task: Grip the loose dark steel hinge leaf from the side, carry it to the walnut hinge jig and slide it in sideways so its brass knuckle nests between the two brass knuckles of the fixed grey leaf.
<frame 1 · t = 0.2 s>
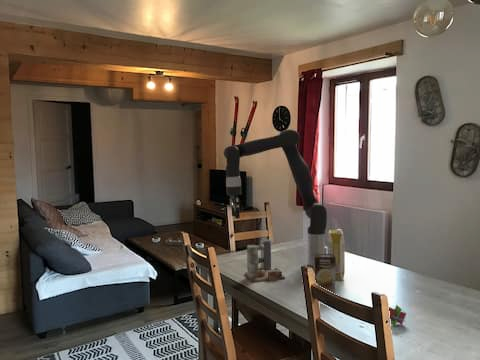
hand: (235, 217, 205), 29 cm above the table, tool pointing down, fingers open, 8 cm apart
hinge jig: (264, 276, 199), on the table
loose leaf: (266, 268, 213), on the table
geometric puzzle: (395, 325, 143), on the table
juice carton: (335, 278, 194), on the table
coffee box: (324, 291, 177), on the table
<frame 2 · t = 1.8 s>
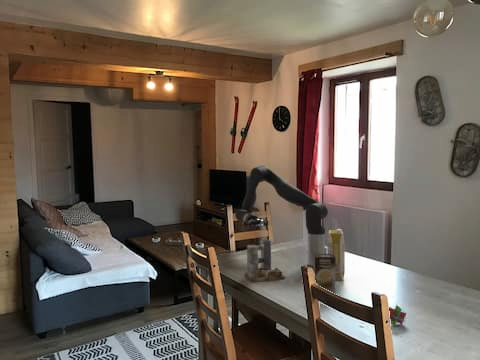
hand: (259, 225, 222), 21 cm above the table, tool horizontal, fingers open, 8 cm apart
nothing on the table moved.
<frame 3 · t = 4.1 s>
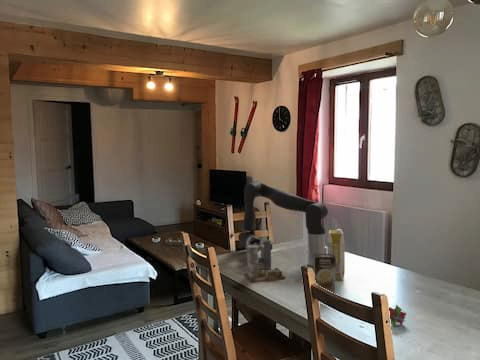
hand: (262, 249, 217), 8 cm above the table, tool horizontal, fingers open, 8 cm apart
nothing on the table moved.
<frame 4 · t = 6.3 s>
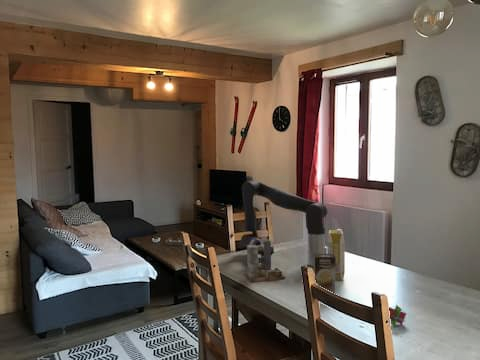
hand: (267, 253, 209), 9 cm above the table, tool horizontal, fingers closed on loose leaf, 4 cm apart
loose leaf: (266, 268, 213), on the table, touching gripper
everything else where it was.
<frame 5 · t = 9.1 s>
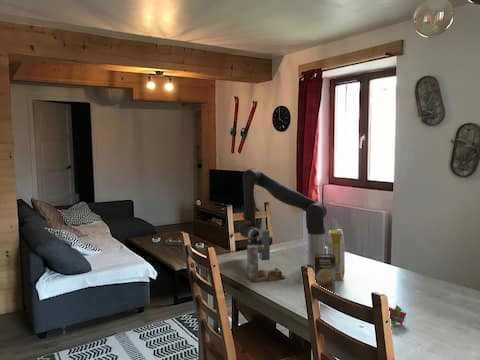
hand: (265, 243, 204), 15 cm above the table, tool horizontal, fingers closed on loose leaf, 4 cm apart
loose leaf: (264, 258, 207), point 7 cm above the table, touching gripper
everything else where it was.
when the fingers open (10 cm above the table, at t = 12.2 s): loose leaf stays where it is, resting on hinge jig.
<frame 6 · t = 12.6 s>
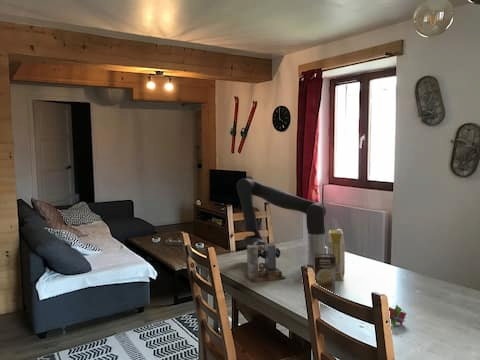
hand: (271, 256, 196), 11 cm above the table, tool horizontal, fingers open, 6 cm apart
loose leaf: (270, 274, 199), point 1 cm above the table, touching hinge jig
everything else where it was.
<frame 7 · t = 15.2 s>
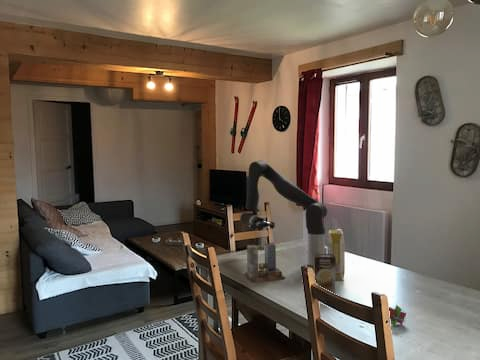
hand: (266, 227, 210), 22 cm above the table, tool horizontal, fingers open, 6 cm apart
nothing on the table moved.
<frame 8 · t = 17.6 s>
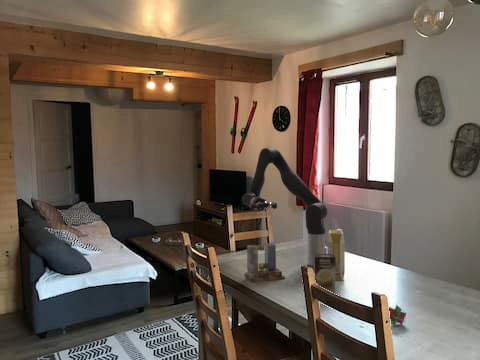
hand: (267, 207, 213), 32 cm above the table, tool horizontal, fingers open, 8 cm apart
nothing on the table moved.
at the end: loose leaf 0.2 cm from the target spot on the hinge jig, point 1.0 cm above the hinge jig's base; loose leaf tilted 0°; the gripper is holding nothing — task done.
